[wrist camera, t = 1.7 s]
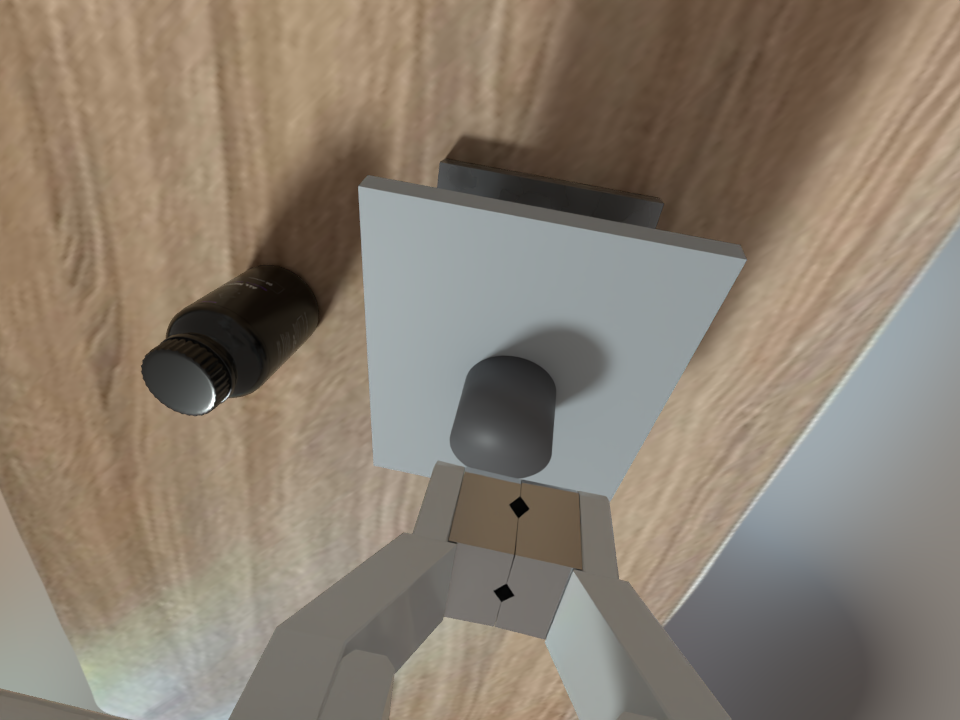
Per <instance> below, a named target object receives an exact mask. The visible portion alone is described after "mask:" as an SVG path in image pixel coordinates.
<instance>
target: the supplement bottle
mask: <svg viewBox="0 0 960 720" xmlns="http://www.w3.org/2000/svg"><path fill="white" fill-rule="evenodd" d="M318 319H319V310H318V305H317V301H316V299H315V296H314V294H313V293H312V291H311V289H310V288H309V287H308V285H307V284H306V283H305V282H304V281H303V280H302V279H301V278H300V277H298V276H297V275H296V274H294V273H293V272H291V271H289V270H287V269H285V268H282V267H278V266H274V265H261V266H256V267H254V268H251V269H249V270H247V271H246V272H244V273H242V274H240V275H239V276H237V277H235V278H234V279H232V280H230V281H229V282H227V283H225V284H224V285H222V286H220V287H219V288H217V289H215V290H214V291H212V292H210V293H209V294H207V295H205V296H204V297H202V298H200V299H199V300H197V301H196V302H194V303H192V304H191V305H189V306H187V307H186V308H184V309H183V310H181V311H180V312H179V313H177V314H176V315H175V316H174V317H173V319H172V320H171V322H170V324H169V326H168V329H167V333H166V339H165V340H164V341H163V342H161V344H160V345H158V346H157V347H155V348H154V349H152V350H151V351H150V352H149V353H148V354H146V356H145V358H144V359H143V364H142V365H141V367H142V371H141V372H142V375H143V379H144V381H145V384H146V386H147V387H148V388H149V390H150V392H151V393H152V394H153V395H154V396H155V398H157V399H158V400H159V401H160V402H161V403H163V404H164V405H166V406H167V407H168V408H171V409H172V410H174V411H176V412H179V413H181V414H186V415H189V416H190V415H193V416H197V415H204V414H207V413H209V412H210V411H212V410H213V409H215V408H216V407H217V406H218V405H219V404H220V403H222V402H224V401H225V400H227V399H228V398H237V397H242V396H246V395H248V394H251V393H252V392H254V391H256V390H257V389H258V388H259V387H260V386H262V385H263V384H264V383H265V382H266V381H267V380H268V379H269V378H270V377H271V376H272V375H273V374H274V373H275V372H276V371H277V370H278V369H279V368H280V367H281V366H282V365H283V364H284V363H285V362H286V361H287V360H288V359H289V358H290V357H291V356H292V355H293V354H294V353H295V352H296V351H297V350H298V349H299V348H300V347H301V346H302V345H303V344H304V342H305V341H306V340H307V339H308V338H309V337H310V336H311V335H312V334H313V332H314V331H315V329H316V327H317V324H318Z"/></svg>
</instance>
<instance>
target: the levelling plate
mask: <svg viewBox="0 0 960 720" xmlns="http://www.w3.org/2000/svg"><path fill="white" fill-rule="evenodd" d="M358 193H359V211H360V229H361V247H362V265H363V283H364V301H365V318H366V336H367V354H368V372H369V390H370V408H371V426H372V443H373V461H374V466H379V467H383V468H388V469H393V470H397V471H402V472H407V473H411V474H416V475H421V476H425V477H430V478H431V475H432V471H433V468H434V466H435V464H436V463H437V461H442V462H446V463H451V464H455V465H459V466H463V467H465V469H466V467H470V468H474V469H479V470H483V471H487V472H491V473H496V474H500V475H504V476H508V477H512V478H517V479H522V480H527V481H532V482H537V483H542V484H547V485H552V486H557V487H562V488H567V489H572V490H576V491H583V492H588V493H593V494H598V495H603V496H606V497H607V498H608V500H609V503H610V501H611V499H612V498H613V496H614V494H615V492H616V490H617V489H618V487H619V485H620V483H621V482H622V480H623V478H624V476H625V475H626V473H627V471H628V469H629V467H630V466H631V464H632V462H633V460H634V459H635V457H636V455H637V453H638V452H639V450H640V448H641V446H642V444H643V443H644V441H645V439H646V437H647V436H648V434H649V432H650V430H651V429H652V427H653V425H654V423H655V421H656V420H657V418H658V416H659V414H660V413H661V411H662V409H663V407H664V406H665V404H666V402H667V400H668V399H669V397H670V395H671V393H672V391H673V390H674V388H675V386H676V384H677V383H678V381H679V379H680V377H681V376H682V374H683V372H684V370H685V368H686V367H687V365H688V363H689V361H690V360H691V358H692V356H693V354H694V353H695V351H696V349H697V347H698V345H699V344H700V342H701V340H702V338H703V337H704V335H705V333H706V331H707V330H708V328H709V326H710V324H711V322H712V321H713V319H714V317H715V315H716V314H717V312H718V310H719V308H720V307H721V305H722V303H723V301H724V299H725V298H726V296H727V294H728V292H729V291H730V289H731V287H732V285H733V284H734V282H735V280H736V278H737V277H738V275H739V273H740V271H741V269H742V268H743V266H744V264H745V262H746V261H747V259H746V257H745V254H744V252H743V250H742V248H741V245H738V244H732V243H727V242H722V241H716V240H711V239H706V238H700V237H695V236H690V235H684V234H679V233H674V232H668V231H663V230H658V229H652V228H647V227H642V226H636V225H631V224H626V223H620V222H615V221H610V220H605V219H599V218H594V217H589V216H583V215H578V214H573V213H567V212H562V211H557V210H551V209H546V208H541V207H535V206H530V205H525V204H519V203H514V202H509V201H503V200H498V199H493V198H487V197H482V196H477V195H472V194H466V193H461V192H456V191H450V190H445V189H440V188H434V187H429V186H424V185H418V184H413V183H408V182H402V181H397V180H392V179H386V178H381V177H376V176H370V175H367V177H366V178H365V179H364V180H363V181H362V182H361V183H360V185H359V186H358Z"/></svg>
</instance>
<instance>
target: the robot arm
mask: <svg viewBox="0 0 960 720" xmlns="http://www.w3.org/2000/svg"><path fill="white" fill-rule="evenodd" d="M443 617H449V618H454V619H459V620H464V621H469V622H474V623H479V624H484V625H489V626H494V624H495V627H498V628H502V629H506V630H510V631H514V632H518V633H522V634H526V635H529V636H533V637H537V638H541V639H545V640H546V641H545V644H546V646H547V648H548V650H549V653H550V655H551V657H552V659H553V662H554V664H555V666H556V668H557V670H558V673H559V675H560V677H561V679H562V682H563V684H564V686H565V688H566V691H567V693H568V695H569V697H570V700H571V702H572V704H573V706H574V708H575V711H576V713H577V715H578V717H579V720H732V719H731V718H730V717H729V715H728V714H727V713H726V712H725V710H724V709H723V707H722V706H721V705H720V703H719V702H718V701H717V699H716V698H715V697H714V695H713V694H712V693H711V691H710V690H709V689H708V687H707V686H706V685H705V683H704V682H703V681H702V679H701V678H700V677H699V676H698V674H697V673H696V671H695V670H694V669H693V667H692V666H691V665H690V663H689V662H688V661H687V659H686V658H685V657H684V655H683V654H682V653H681V651H680V650H679V649H678V647H677V646H676V645H675V643H674V642H673V641H672V639H671V638H670V637H669V635H668V634H667V633H666V631H665V630H664V629H663V627H662V626H661V625H660V623H659V622H658V621H657V619H656V618H655V617H654V615H653V614H652V613H651V611H650V610H649V609H648V607H647V606H646V605H645V603H644V602H643V601H642V599H641V598H640V597H639V595H638V594H637V593H636V591H635V590H634V589H633V587H632V586H631V585H630V583H629V582H627V581H623V580H620V579H619V575H618V567H617V559H616V551H615V543H614V535H613V527H612V519H611V511H610V503H609V500H608V498H607V497H606V496H603V495H598V494H593V493H588V492H583V491H576V490H572V489H567V488H562V487H557V486H552V485H547V484H542V483H537V482H532V481H527V480H522V479H517V478H512V477H508V476H504V475H500V474H496V473H491V472H487V471H483V470H479V469H474V468H470V467H466V469H465V467H463V466H459V465H455V464H451V463H446V462H442V461H437V463H436V464H435V466H434V468H433V471H432V475H431V478H430V481H429V484H428V487H427V490H426V493H425V496H424V499H423V502H422V506H421V509H420V512H419V515H418V518H417V521H416V524H415V527H414V530H413V533H412V534H409V533H404V532H403V533H402V534H401V535H399V536H398V537H397V538H395V539H394V540H393V541H391V542H390V543H389V544H387V545H386V546H385V547H383V548H382V549H381V550H379V551H378V552H377V553H375V554H374V555H372V556H371V557H370V558H368V559H367V560H366V561H364V562H363V563H362V564H360V565H359V566H358V567H356V568H355V569H354V570H352V571H351V572H350V573H348V574H347V575H346V576H344V577H343V578H342V579H340V580H339V581H338V582H336V583H335V584H334V585H332V586H331V587H330V588H328V589H327V590H326V591H324V592H323V593H322V594H320V595H319V596H318V597H316V598H315V599H314V600H312V601H311V602H310V603H308V604H307V605H306V606H304V607H303V608H302V609H300V610H299V611H298V612H296V613H295V614H294V615H292V616H291V617H289V618H288V619H287V620H285V621H284V622H283V623H281V624H280V625H279V626H277V627H276V629H275V631H274V633H273V635H272V637H271V639H270V641H269V643H268V645H267V647H266V648H265V650H264V652H263V654H262V656H261V658H260V660H259V662H258V664H257V666H256V668H255V670H254V672H253V673H252V675H251V677H250V679H249V681H248V683H247V685H246V687H245V689H244V691H243V693H242V695H241V697H240V698H239V700H238V702H237V704H236V706H235V708H234V710H233V712H232V714H231V716H230V718H229V720H389V716H390V707H391V699H392V690H393V681H394V674H395V673H396V672H397V671H398V670H399V669H400V668H401V667H402V665H403V664H404V663H405V662H406V661H407V660H408V659H409V658H410V656H411V655H412V654H413V653H414V652H415V651H416V650H417V649H418V647H419V646H420V645H421V644H422V643H423V642H424V641H425V640H426V638H427V637H428V636H429V635H430V634H431V633H432V632H433V631H434V629H435V628H436V627H437V626H438V625H439V624H440V623H441V622H442V620H443ZM0 720H128V719H124V718H119V717H115V716H111V715H107V714H103V713H99V712H95V711H91V710H86V709H82V708H78V707H74V706H70V705H66V704H62V703H57V702H53V701H49V700H45V699H41V698H37V697H33V696H29V695H25V694H20V693H17V692H12V691H8V690H4V689H0Z"/></svg>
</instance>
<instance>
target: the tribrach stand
mask: <svg viewBox="0 0 960 720" xmlns="http://www.w3.org/2000/svg"><path fill="white" fill-rule="evenodd" d="M437 188H440V189H445V190H450V191H456V192H461V193H466V194H472V195H477V196H482V197H487V198H493V199H498V200H503V201H509V202H514V203H519V204H525V205H530V206H535V207H541V208H546V209H551V210H557V211H562V212H567V213H573V214H578V215H583V216H589V217H594V218H599V219H605V220H610V221H615V222H620V223H626V224H631V225H636V226H642V227H647V228H652V229H656V226H657V223H658V220H659V217H660V214H661V211H662V208H663V205H664V203H663V202H662V201H661V200H660V198H656V197H650V196H645V195H640V194H634V193H629V192H623V191H618V190H613V189H607V188H602V187H596V186H591V185H586V184H580V183H575V182H569V181H564V180H559V179H553V178H548V177H542V176H537V175H532V174H526V173H521V172H515V171H510V170H505V169H499V168H494V167H488V166H483V165H478V164H472V163H467V162H461V161H456V160H450V159H444V160H442V161H441V162H440V166H439V175H438V185H437Z"/></svg>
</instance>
